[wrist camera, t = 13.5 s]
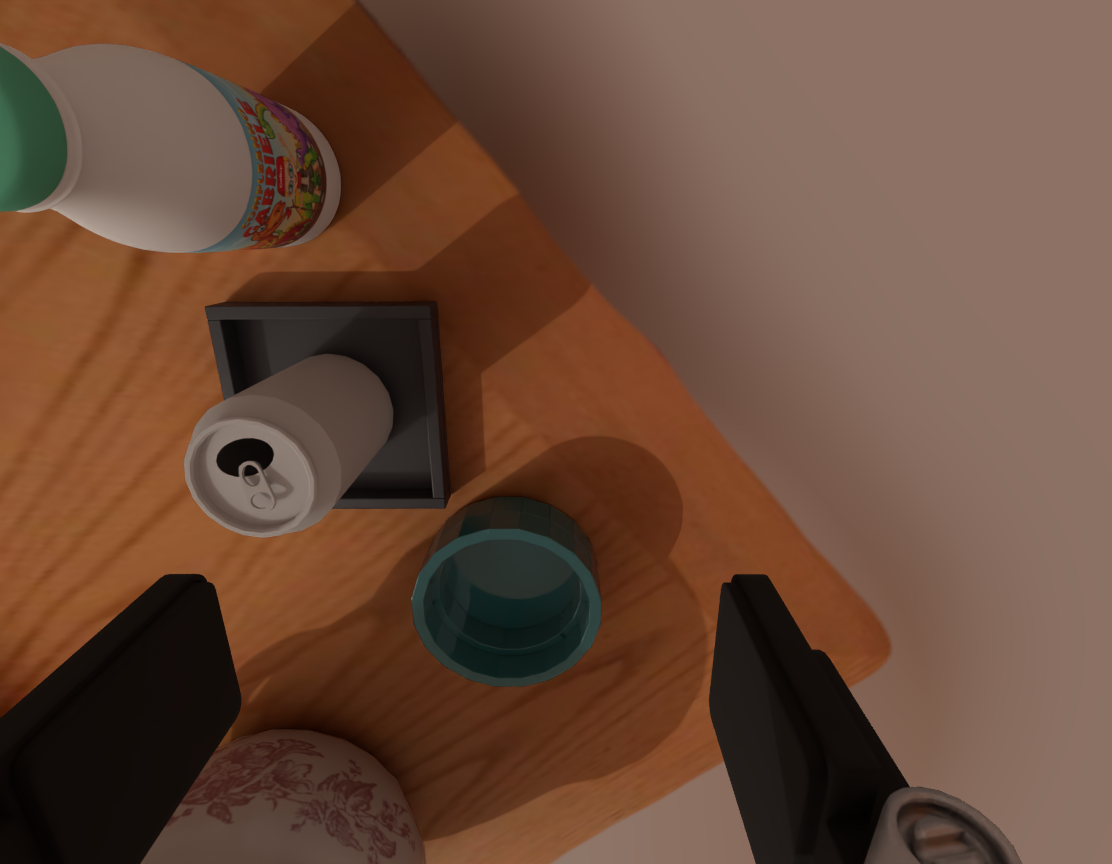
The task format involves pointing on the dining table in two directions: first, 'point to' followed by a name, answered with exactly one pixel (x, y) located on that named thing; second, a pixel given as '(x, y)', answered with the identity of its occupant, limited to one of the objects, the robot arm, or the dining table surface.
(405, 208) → the dining table surface
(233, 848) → the chamber pot
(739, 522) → the dining table surface
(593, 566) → the bowl
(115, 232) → the milk bottle
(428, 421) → the tray
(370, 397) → the can
